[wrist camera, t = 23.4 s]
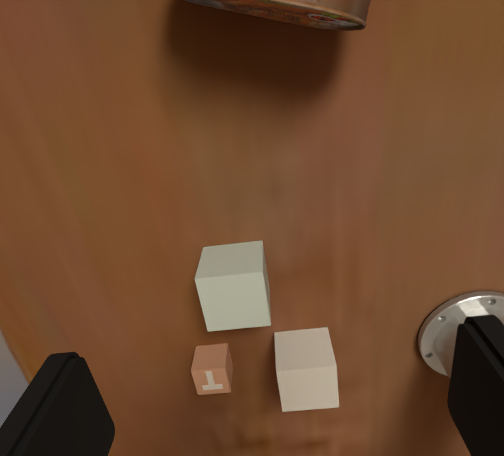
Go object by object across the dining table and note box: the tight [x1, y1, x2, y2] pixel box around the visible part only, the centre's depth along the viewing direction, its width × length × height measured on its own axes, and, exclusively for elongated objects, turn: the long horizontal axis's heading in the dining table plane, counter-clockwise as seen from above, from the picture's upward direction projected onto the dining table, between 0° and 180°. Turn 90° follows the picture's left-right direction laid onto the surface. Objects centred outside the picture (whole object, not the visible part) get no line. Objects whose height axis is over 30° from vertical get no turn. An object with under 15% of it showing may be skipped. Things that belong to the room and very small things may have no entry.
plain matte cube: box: [195, 241, 271, 331], centre depth 39 cm, size 6×6×6 cm
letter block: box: [191, 343, 233, 395], centre depth 46 cm, size 4×4×4 cm
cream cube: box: [274, 327, 339, 412], centre depth 44 cm, size 6×6×6 cm
